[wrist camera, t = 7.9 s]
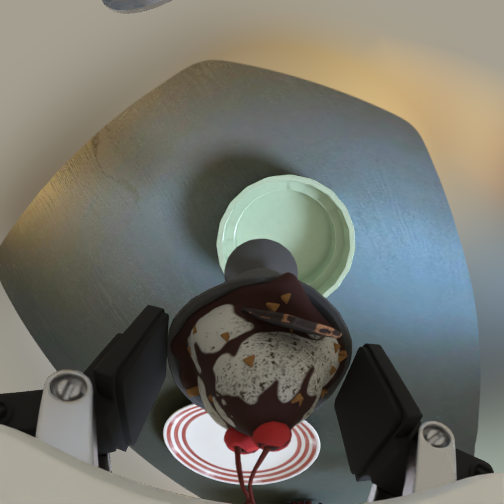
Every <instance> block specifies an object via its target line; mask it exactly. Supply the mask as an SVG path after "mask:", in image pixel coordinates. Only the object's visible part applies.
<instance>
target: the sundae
mask: <svg viewBox="0 0 504 504" xmlns="http://www.w3.org/2000/svg"><path fill="white" fill-rule="evenodd" d="M224 275H225V282H224V283H222V284H220V285H218V286H215V287H213V288H211V289H209V290H207V291H205V292H203V293H202V294H200V295H198V296H196V297H194V298H193V299H191V300H190V301H189V302H188V303H187V304H186V305H185V306H184V307H183V308H182V309H181V310H180V311H179V312H178V314H177V315H176V316H175V318H174V319H173V321H172V324H171V326H170V329H169V334H168V339H167V357H168V362H169V367H170V370H171V373H172V376H173V379H174V382H175V383H176V385H177V386H178V387H179V389H180V390H181V391H182V393H183V394H184V395H185V396H186V397H187V398H188V399H189V400H190V401H191V402H192V403H193V404H195V405H197V406H199V407H200V408H202V409H204V410H205V411H206V412H207V413H208V414H209V415H210V417H211V418H212V419H213V420H214V421H215V422H216V423H217V424H218V425H220V426H221V427H223V428H224V429H226V430H227V431H226V432H225V435H224V442H225V444H226V446H227V447H228V449H230V450H231V451H233V452H235V465H236V470H237V475H238V480H239V483H240V486H241V489H242V491H243V493H244V495H245V497H246V502H245V503H244V504H256V503H255V500H254V497H253V491H252V483H253V479H254V477H255V474H256V472H257V469H258V468H259V467H260V465H261V464H262V462H263V460H264V459H265V457H266V456H267V454H268V453H269V451H270V452H277V451H280V450H282V449H284V448H286V447H287V446H288V445H289V443H290V442H291V438H292V431H291V430H292V428H293V427H295V426H296V425H298V424H300V423H301V422H302V421H303V420H305V419H306V418H307V417H308V416H309V415H310V414H311V413H312V412H313V411H315V410H316V409H317V408H318V407H320V406H321V405H322V404H323V403H324V402H325V401H326V400H327V399H328V398H329V397H330V396H331V395H332V394H333V392H334V391H335V390H336V388H337V387H338V385H339V384H340V382H341V380H342V379H343V377H344V375H345V373H346V371H347V369H348V367H349V365H350V361H351V355H352V340H351V337H350V334H349V331H348V328H347V326H346V324H345V322H344V320H343V319H342V317H341V315H340V313H339V312H338V311H337V310H336V308H335V307H334V306H333V305H332V304H331V303H330V302H329V301H328V300H327V299H326V298H325V297H324V296H323V295H321V294H320V293H319V292H318V291H317V290H315V289H314V288H313V287H311V286H309V285H307V284H305V283H303V282H302V281H300V280H298V269H297V264H296V261H295V259H294V257H293V255H292V254H291V252H290V251H289V250H288V249H287V248H286V247H284V246H283V245H282V244H280V243H278V242H276V241H273V240H269V239H253V240H249V241H247V242H244V243H242V244H241V245H239V246H238V247H236V248H235V249H234V251H233V252H232V253H231V254H230V256H229V257H228V259H227V262H226V265H225V270H224ZM259 449H262V450H263V451H262V453H261V455H260V457H259V458H258V460H257V462H256V464H255V466H254V468H253V470H252V472H251V475H250V478H249V481H248V492H249V494H248V492H247V489H246V488H245V485H244V479H243V472H242V464H241V454H243V455H245V454H251V453H255V452H256V451H258V450H259Z"/></svg>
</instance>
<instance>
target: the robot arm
mask: <svg viewBox="0 0 504 504" xmlns="http://www.w3.org/2000/svg"><path fill="white" fill-rule="evenodd" d="M168 321H169V315H168V314H166V313H164V309H163V308H159V307H155V306H151V305H148V306H147V307H146V308H145V309H144V310H143V311H142V312H141V313H140V315H139V316H138V317H137V318H136V319H135V320H134V322H133V323H132V324H131V325H130V326H129V327H128V328H127V330H126V331H125V332H124V333H123V334H121V333H118V334H117V335H116V336H115V337H114V338H113V339H112V340H111V341H110V343H109V344H108V345H107V346H106V347H105V348H104V350H103V351H102V352H101V353H100V354H99V355H98V356H97V358H96V359H95V360H94V361H93V362H92V363H91V365H90V366H89V367H88V368H87V369H86V371H85V372H84V373H81V372H79V371H75V370H60V371H57V372H55V373H53V374H51V375H50V376H49V377H48V378H47V380H46V382H45V385H44V389H43V390H35V391H26V392H16V393H5V394H0V504H230V503H223V502H217V501H211V500H205V499H200V498H195V497H190V496H185V495H181V494H177V493H172V492H169V491H165V490H162V489H158V488H155V487H151V486H148V485H145V484H142V483H138V482H136V481H133V480H130V479H127V478H125V477H122V476H119V475H116V474H114V473H112V470H111V463H110V462H111V461H110V452H114V451H116V449H120V450H122V451H125V452H126V450H127V448H128V446H129V444H130V445H134V444H135V443H136V441H137V438H138V436H139V434H140V432H141V430H142V427H143V425H144V423H145V421H146V419H147V416H148V414H149V412H150V410H151V408H152V406H153V403H154V401H155V399H156V397H157V395H158V393H159V391H160V388H161V386H162V384H163V382H164V380H165V376H166V361H167V338H168ZM334 407H335V411H336V415H337V419H338V422H339V426H340V430H341V434H342V438H343V442H344V446H345V450H346V454H347V458H348V462H349V466H350V471H351V473H352V474H355V477H356V481H357V482H358V481H367V480H371V481H372V483H373V484H372V487H371V490H370V494H369V497H368V501H367V503H361V504H504V473H494V471H493V469H492V467H491V465H489V464H488V463H487V462H485V461H483V460H481V459H478V458H476V457H474V456H472V455H469V454H467V453H465V452H463V451H461V450H458V449H456V448H455V441H454V436H453V434H452V432H451V430H450V429H449V428H448V427H447V426H445V425H443V424H442V423H439V422H436V421H428V422H425V423H423V424H422V423H421V421H420V419H421V418H422V416H423V415H422V414H421V412H420V410H419V408H418V406H417V405H416V403H415V401H414V400H413V398H412V396H411V394H410V393H409V391H408V389H407V388H406V386H405V384H404V383H403V381H402V379H401V378H400V376H399V374H398V373H397V371H396V369H395V368H394V366H393V365H392V363H391V361H390V360H389V358H388V357H387V355H386V353H385V352H384V350H383V349H382V347H381V346H380V345H377V344H364V345H363V347H359V349H358V351H357V353H356V355H355V358H354V360H353V362H352V365H351V367H350V369H349V371H348V374H347V376H346V378H345V380H344V382H343V385H342V387H341V389H340V391H339V393H338V395H337V397H336V399H335V404H334Z"/></svg>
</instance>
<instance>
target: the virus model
mask: <svg viewBox="0 0 504 504" xmlns="http://www.w3.org/2000/svg"><path fill="white" fill-rule="evenodd" d="M311 503H312V502H311V501H305V504H311ZM287 504H288V503H287ZM291 504H297V502H296V501H294V502H291ZM298 504H304V501H299V502H298ZM319 504H322V503H319Z"/></svg>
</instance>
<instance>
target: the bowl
mask: <svg viewBox="0 0 504 504" xmlns="http://www.w3.org/2000/svg"><path fill="white" fill-rule="evenodd" d="M253 239H269V240H273V241H276V242H278V243H280V244H282V245H283V246H284V247H286V248H287V249H288V250H289V251H290V252H291V254H292V255H293V257H294V259H295V261H296V264H297V269H298V280H300V281H302V282H303V283H305V284H307V285H309V286H311V287H313V288H314V289H315V290H317V291H318V292H319V293H320V294H321V295H323V296H324V297H325V298H326V297H327V296H329V295H330V294H331V293H332V292H333V291H335V290H336V289H337V288H338V287H339V285H340V284H341V282H342V281H343V279H344V278H345V276H346V274H347V273H348V271H349V270H350V267H351V263H352V259H353V256H354V252H355V234H354V226H353V223H352V221H351V218H350V216H349V213H348V211H347V208H346V207H345V205H344V204H343V203H342V202H341V201H340V199H339V198H338V197H337V196H336V195H335V194H334V192H333V191H332V190H330V189H329V188H327V187H325V186H324V185H322V184H320V183H319V182H317V181H315V180H314V179H310V178H306V177H301V176H297V175H292V174H291V175H290V174H288V175H279V176H270V177H266V178H264V179H262V180H260V181H257V182H255V183H253V184H251V185H249V186H247V187H246V188H245V189H244V190H243V191H241V192H240V193H239V194H238V195H237V196H236V197H235V198H234V199H233V200H232V201H231V202H230V204H229V205H228V207H227V209H226V211H225V213H224V215H223V217H222V219H221V221H220V223H219V230H218V236H217V242H216V246H217V252H218V258H219V264H220V267H221V269H222V270H223V272H224V270H225V265H226V262H227V259H228V257H229V256H230V254H231V253H232V252H233V251H234V249H235V248H236V247H238V246H239V245H241V244H242V243H244V242H247V241H249V240H253Z"/></svg>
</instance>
